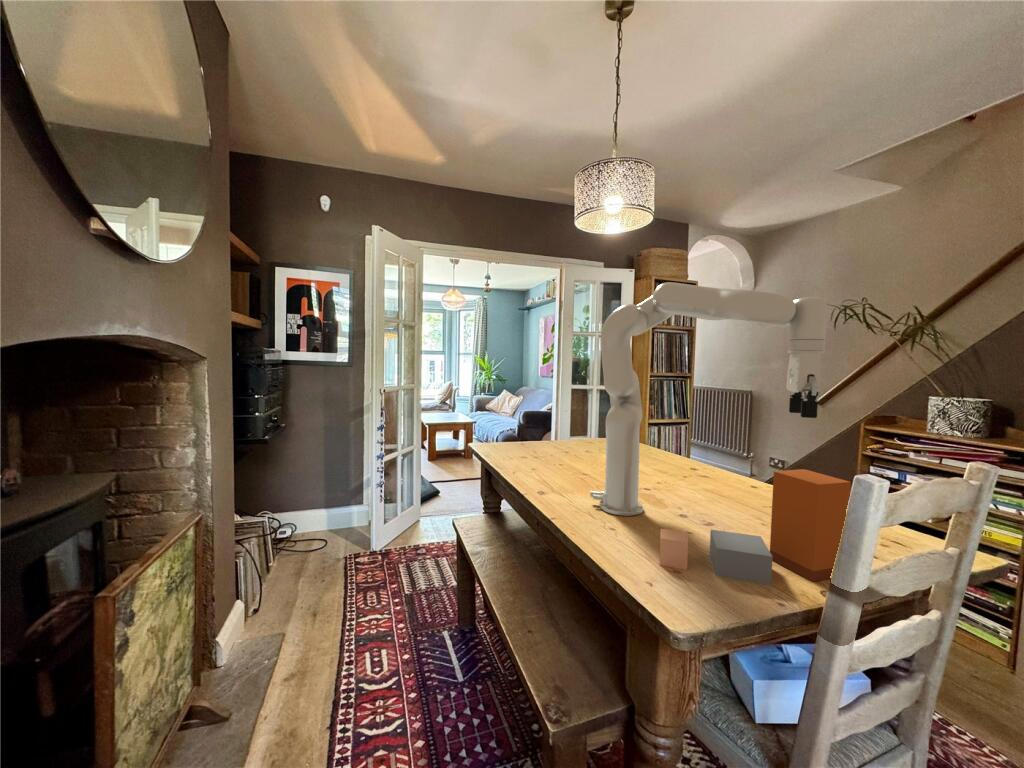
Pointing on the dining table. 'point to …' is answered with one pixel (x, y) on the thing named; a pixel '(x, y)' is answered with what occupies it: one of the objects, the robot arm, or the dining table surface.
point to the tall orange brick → (807, 521)
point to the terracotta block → (673, 549)
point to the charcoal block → (740, 557)
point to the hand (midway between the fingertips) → (802, 415)
